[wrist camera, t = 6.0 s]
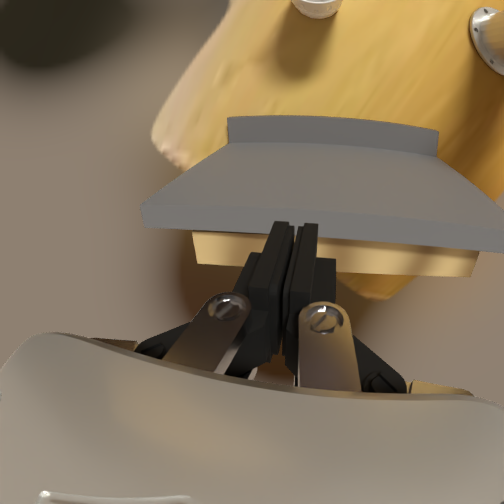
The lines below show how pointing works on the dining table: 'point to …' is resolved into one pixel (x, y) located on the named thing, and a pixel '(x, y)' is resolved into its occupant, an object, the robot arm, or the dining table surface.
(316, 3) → the white cup
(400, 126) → the board
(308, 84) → the dining table surface
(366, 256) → the picture frame
